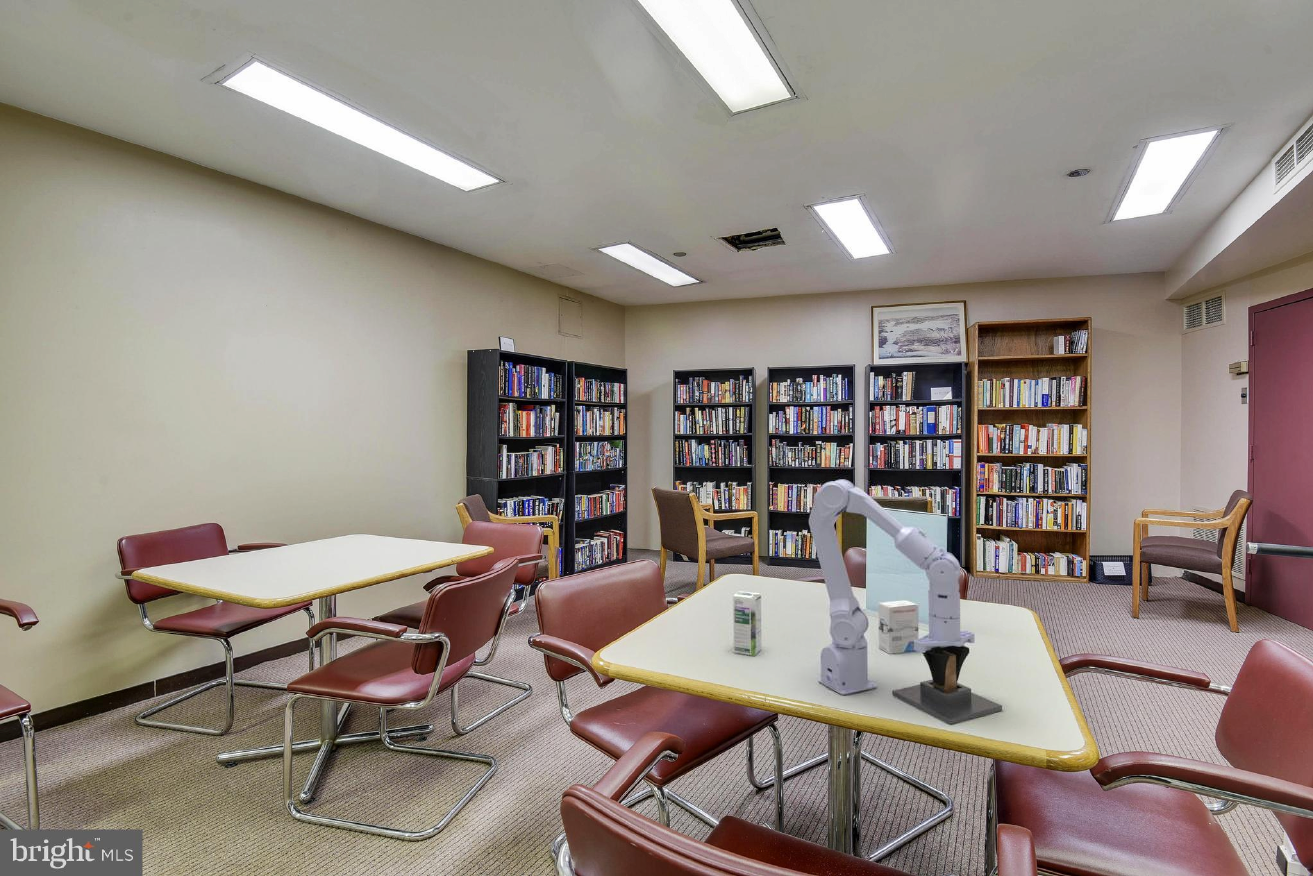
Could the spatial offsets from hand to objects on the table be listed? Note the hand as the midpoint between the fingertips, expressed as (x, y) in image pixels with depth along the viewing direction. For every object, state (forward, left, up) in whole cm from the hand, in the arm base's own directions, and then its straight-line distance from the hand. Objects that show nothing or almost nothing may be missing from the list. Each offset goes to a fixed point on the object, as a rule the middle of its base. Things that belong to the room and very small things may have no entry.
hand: (945, 682), depth 119 cm
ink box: (+15, +27, -4) cm, 31 cm away
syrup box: (-20, +42, -4) cm, 47 cm away
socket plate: (0, 0, -4) cm, 4 cm away
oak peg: (0, 0, -2) cm, 2 cm away
